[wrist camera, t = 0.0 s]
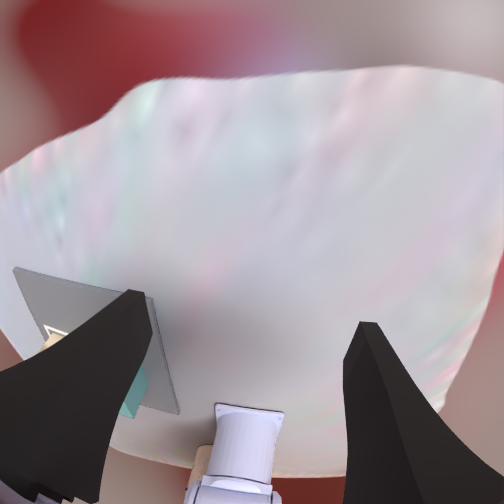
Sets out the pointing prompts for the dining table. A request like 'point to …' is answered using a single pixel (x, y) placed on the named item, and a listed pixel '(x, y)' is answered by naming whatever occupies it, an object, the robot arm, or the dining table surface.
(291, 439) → the dining table surface
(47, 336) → the gray board
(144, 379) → the teal block
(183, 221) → the dining table surface
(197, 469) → the teacup with lid
